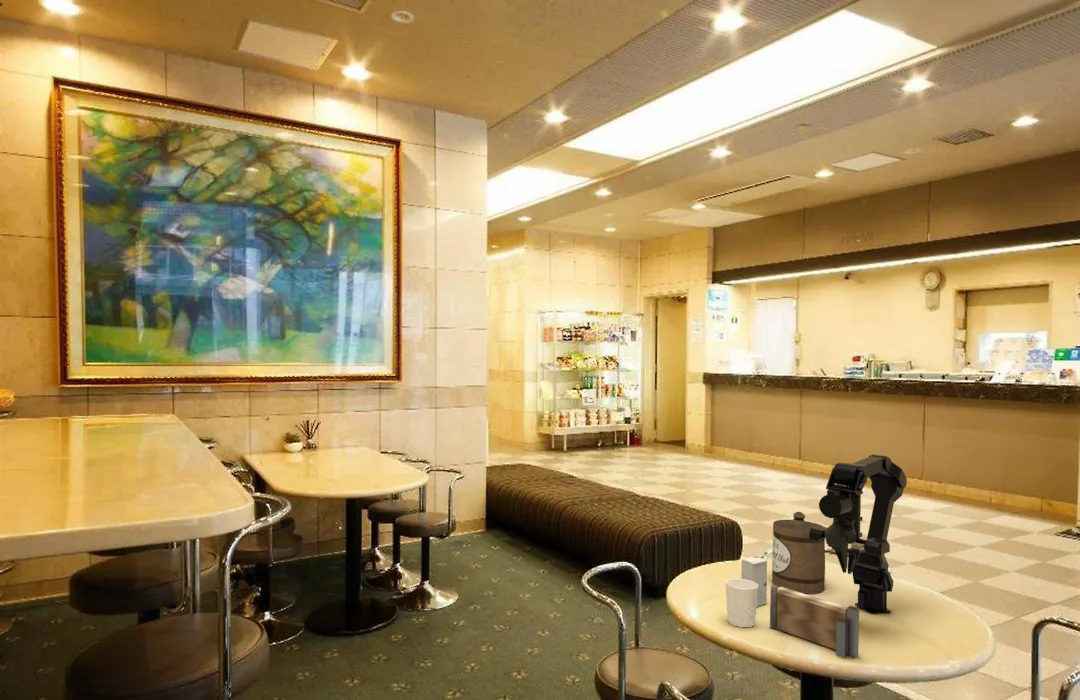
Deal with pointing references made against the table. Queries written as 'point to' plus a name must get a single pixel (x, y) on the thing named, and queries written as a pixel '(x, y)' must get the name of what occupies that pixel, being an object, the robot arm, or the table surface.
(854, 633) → the post
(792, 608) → the gate leaf
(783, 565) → the wooden container
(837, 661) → the table surface
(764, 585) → the skincare box
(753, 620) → the white cup
